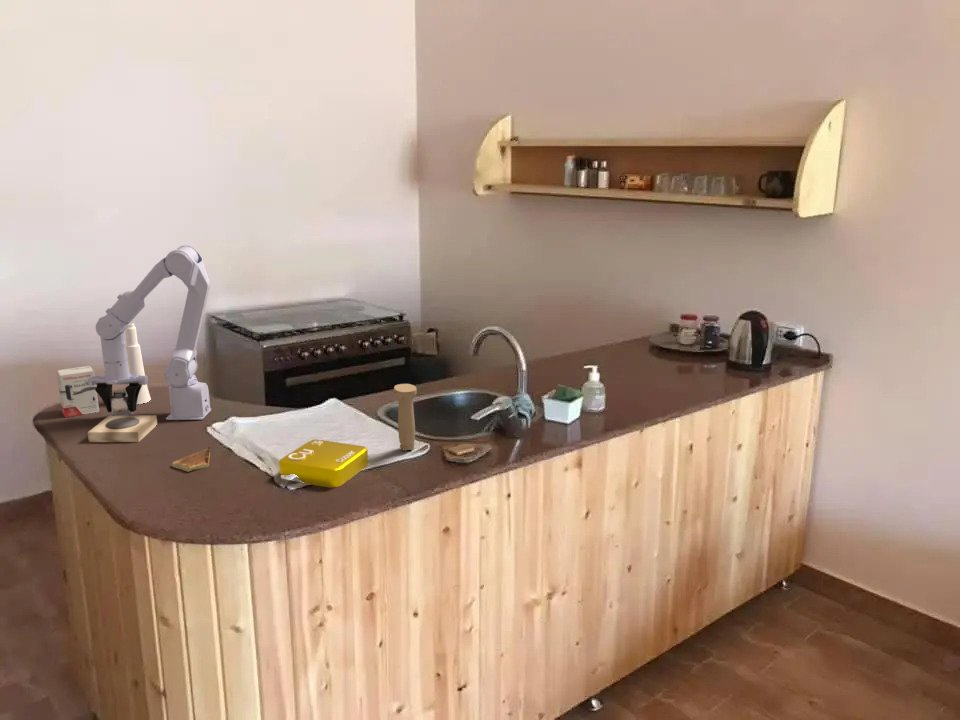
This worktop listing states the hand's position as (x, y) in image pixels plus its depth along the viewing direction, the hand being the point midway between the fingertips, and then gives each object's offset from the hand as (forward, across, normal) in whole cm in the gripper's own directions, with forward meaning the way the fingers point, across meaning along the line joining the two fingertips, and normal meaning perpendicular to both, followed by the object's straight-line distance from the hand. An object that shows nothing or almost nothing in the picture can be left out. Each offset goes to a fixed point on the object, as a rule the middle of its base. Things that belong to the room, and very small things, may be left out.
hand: (122, 410), depth 217 cm
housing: (+2, 0, 0) cm, 2 cm away
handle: (+2, +76, -24) cm, 80 cm away
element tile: (+3, +59, -36) cm, 69 cm away
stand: (+2, +5, -12) cm, 13 cm away
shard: (+3, +28, -30) cm, 41 cm away
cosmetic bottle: (+2, -1, +14) cm, 14 cm away
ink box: (+2, -13, +4) cm, 14 cm away
